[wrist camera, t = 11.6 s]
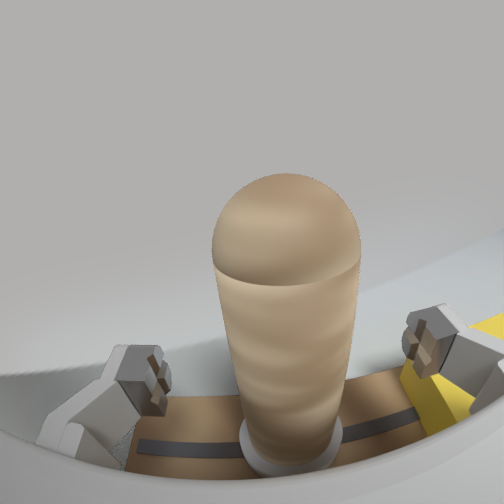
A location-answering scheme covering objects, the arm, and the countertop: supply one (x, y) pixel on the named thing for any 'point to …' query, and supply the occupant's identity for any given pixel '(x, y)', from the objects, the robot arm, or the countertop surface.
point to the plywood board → (231, 417)
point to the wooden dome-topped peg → (288, 317)
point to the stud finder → (443, 389)
